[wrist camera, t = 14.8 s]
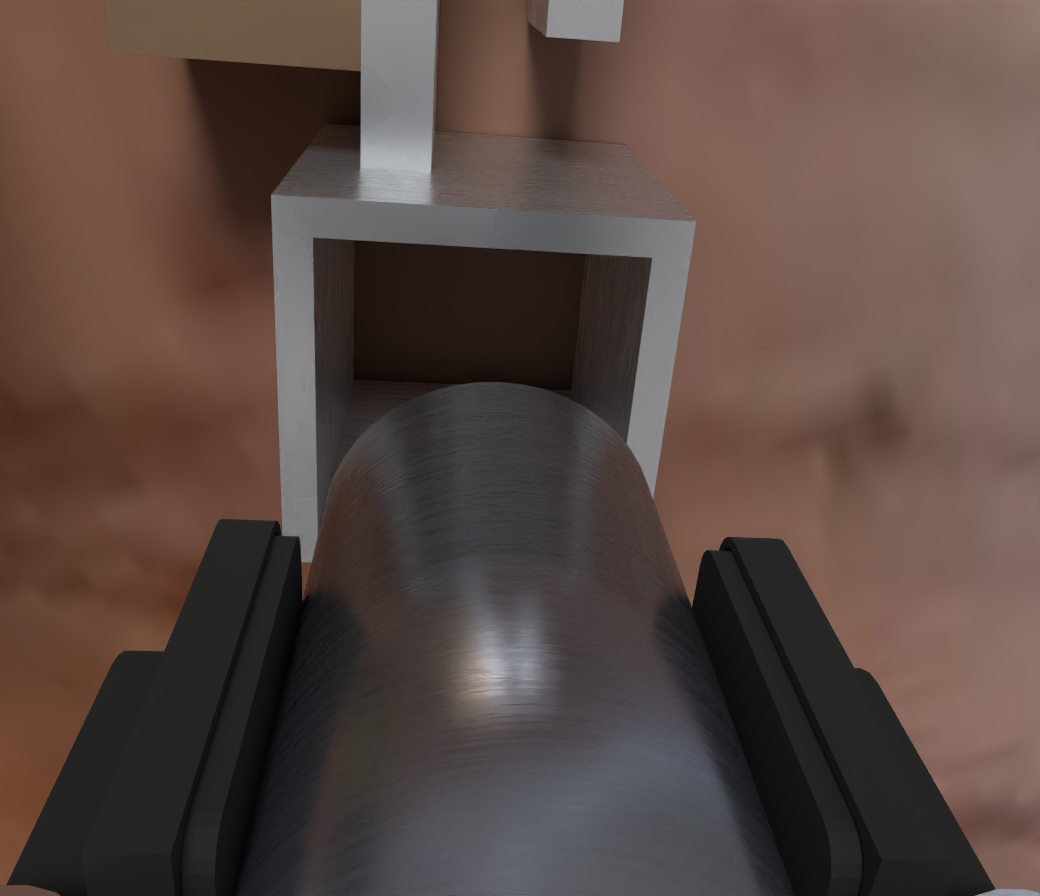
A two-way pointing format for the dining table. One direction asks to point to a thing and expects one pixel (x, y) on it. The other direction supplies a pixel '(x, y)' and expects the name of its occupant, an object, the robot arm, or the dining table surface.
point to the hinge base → (429, 223)
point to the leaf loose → (577, 18)
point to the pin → (501, 677)
